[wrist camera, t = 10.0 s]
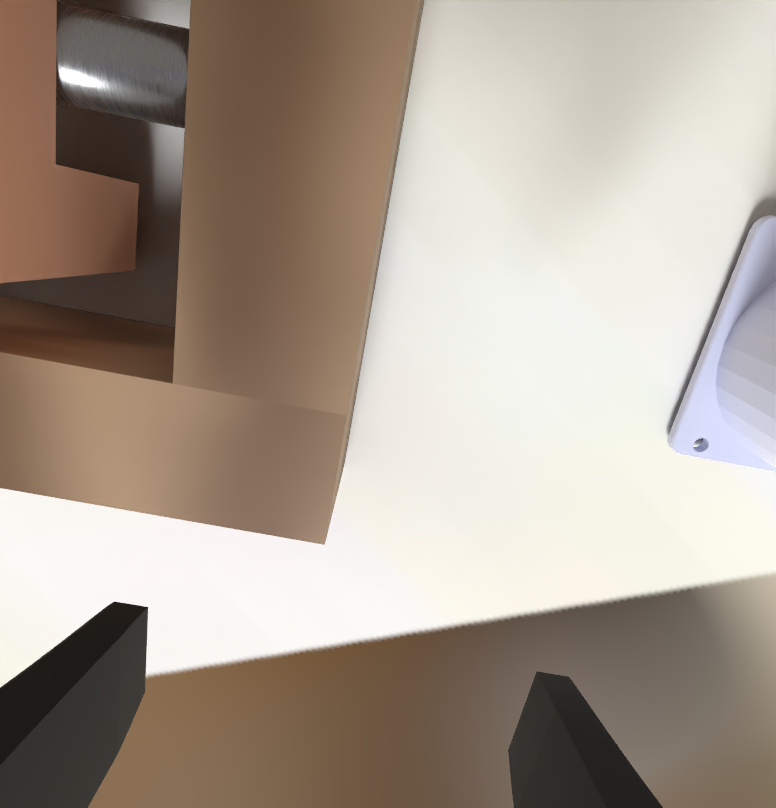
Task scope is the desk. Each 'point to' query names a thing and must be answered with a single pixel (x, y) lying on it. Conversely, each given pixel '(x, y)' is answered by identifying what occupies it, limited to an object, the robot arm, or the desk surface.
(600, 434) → the desk surface
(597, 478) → the desk surface
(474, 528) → the desk surface
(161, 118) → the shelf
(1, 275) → the pink notched block
